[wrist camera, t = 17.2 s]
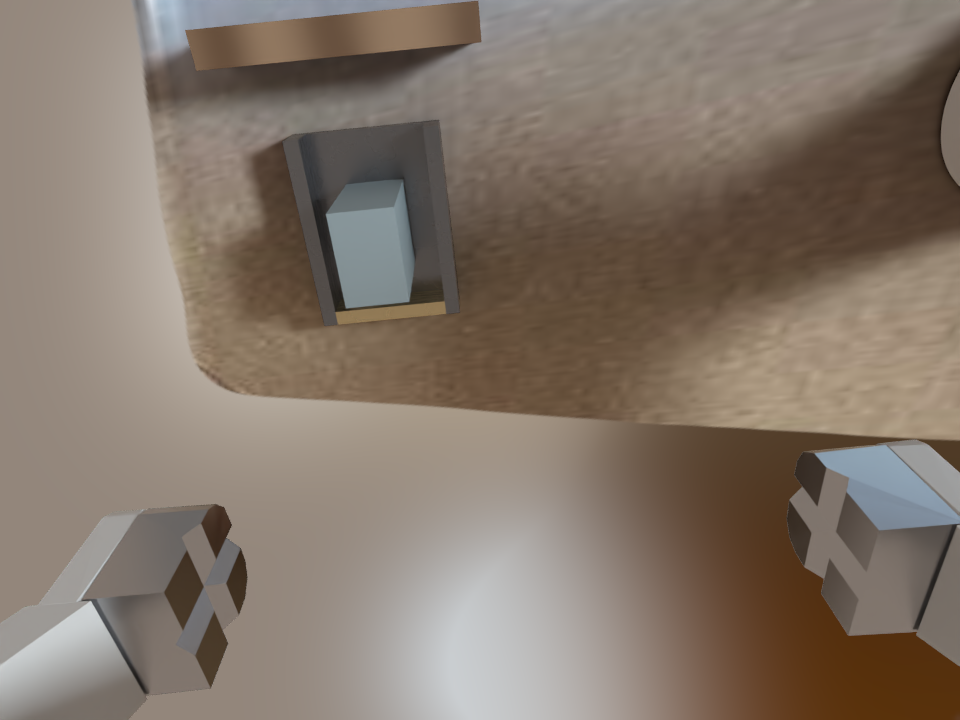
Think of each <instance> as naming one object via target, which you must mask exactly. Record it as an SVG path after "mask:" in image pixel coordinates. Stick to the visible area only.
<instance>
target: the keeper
mask: <svg viewBox="0 0 960 720" xmlns="http://www.w3.org/2000/svg"><path fill="white" fill-rule="evenodd" d="M282 143H283V147H284V152H285V156H286V160H287V165H288V169H289V173H290V178H291V182H292V186H293V191H294V195H295V199H296V204H297V208H298V212H299V217H300V221H301V225H302V230H303V234H304V239H305V243H306V247H307V252H308V256H309V260H310V265H311V269H312V273H313V278H314V282H315V286H316V291H317V295H318V299H319V304H320V308H321V312H322V317H323V321H324V325H325V326H329V325H339V324H350V323H360V322H370V321H380V320H390V319H400V318H410V317H420V316H430V315H440V314H450V313H460V306H459V291H458V282H457V273H456V265H455V256H454V247H453V238H452V229H451V220H450V211H449V203H448V194H447V185H446V176H445V167H444V158H443V149H442V141H441V132H440V123H439V120H433V121H423V122H413V123H403V124H393V125H383V126H373V127H363V128H353V129H343V130H333V131H323V132H313V133H303V134H294V135H291V136H290V137H288V138H287V139H285V140H284V141H282ZM402 178H403V180H404V187H405V194H406V200H407V207H408V214H409V220H410V227H411V234H412V241H413V247H414V254H415V267H414V273H413V280H412V287H411V293H410V300H409V302H403V303H394V304H384V305H374V306H365V307H355V308H346V306H345V302H344V297H343V292H342V288H341V283H340V278H339V273H338V269H337V264H336V259H335V255H334V250H333V245H332V241H331V236H330V231H329V227H328V222H327V217H326V213H327V212H328V210H329V209H330V207H331V206H332V204H333V203H334V201H335V200H336V199H337V197H338V196H339V194H340V193H341V191H342V190H343V188H344V187H345V185H346V184H354V183H364V182H374V181H383V180H393V179H402Z"/></svg>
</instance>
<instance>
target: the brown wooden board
mask: <svg viewBox="0 0 960 720" xmlns="http://www.w3.org/2000/svg"><path fill="white" fill-rule="evenodd" d="M185 31H186V35H187V39H188V42H189V46H190V49H191V53H192V57H193V60H194V64H195V67H196V71H200V70H210V69H220V68H230V67H240V66H250V65H259V64H269V63H279V62H289V61H299V60H309V59H319V58H329V57H339V56H349V55H359V54H369V53H379V52H389V51H398V50H408V49H418V48H428V47H438V46H448V45H458V44H468V43H478V42H481V31H480V18H479V6H478V1H471V2H461V3H451V4H441V5H432V6H422V7H412V8H402V9H392V10H382V11H372V12H362V13H352V14H342V15H333V16H323V17H313V18H303V19H293V20H283V21H273V22H263V23H253V24H243V25H234V26H224V27H214V28H204V29H194V30H185Z"/></svg>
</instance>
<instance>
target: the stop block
mask: <svg viewBox="0 0 960 720" xmlns="http://www.w3.org/2000/svg"><path fill="white" fill-rule="evenodd" d="M326 217H327V222H328V227H329V231H330V236H331V241H332V245H333V250H334V255H335V259H336V264H337V269H338V273H339V278H340V283H341V288H342V292H343V297H344V302H345V306H346V308H355V307H365V306H374V305H384V304H394V303H403V302H409V300H410V293H411V287H412V280H413V273H414V267H415V254H414V247H413V241H412V234H411V227H410V220H409V214H408V207H407V200H406V194H405V187H404V180H403V178H402V179H393V180H383V181H374V182H364V183H354V184H346V185H345V187H344V188H343V190H342V191H341V193H340V194H339V196H338V197H337V199H336V200H335V201H334V203H333V204H332V206H331V207H330V209H329V210H328V212H327V213H326Z"/></svg>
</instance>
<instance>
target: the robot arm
mask: <svg viewBox="0 0 960 720" xmlns="http://www.w3.org/2000/svg"><path fill="white" fill-rule="evenodd" d="M941 147H942V154H943V158H944V161H945V164H946V167H947V169H948V171H949V173H950V175H951V176H952V178H953V179H954V180H955V182H956V183H957V184H958V185H959V186H960V71H959V73H958V75H957V77H956V79H955V81H954V83H953V85H952V88H951V90H950V93H949V96H948V98H947V102H946V105H945V109H944V113H943V118H942V125H941ZM794 475H795V477H796V478H797V480H798V481H799V482H800V484H801V485H802V486H803V487H802V488H801V489H800V490H799V491H798V492H797V493H796V494H795V495H794V496H793V497H792V498H791V499H790V500H789V506H788V513H787V524H788V530H789V537H790V540H791V542H792V545H793V547H794V550H795V552H796V554H797V556H798V557H799V559H800V561H801V562H802V564H803V565H804V567H805V568H807V569H809V570H810V571H812V572H814V573H816V574H817V575H819V576H820V577H822V578H824V582H823V587H822V592H821V594H822V595H823V597H824V598H825V600H826V601H827V603H828V604H829V606H830V608H831V609H832V611H833V612H834V614H835V615H836V617H837V619H838V620H839V622H840V623H841V625H842V626H843V628H844V629H845V631H846V632H847V634H848V635H865V634H866V635H867V634H885V633H903V632H917V634H916V635H917V636H918V637H920V638H921V639H923V640H924V641H925V642H927V643H928V644H929V645H931V646H932V647H933V648H935V649H936V650H938V651H939V652H940V653H942V654H943V655H944V656H946V657H947V658H949V659H950V660H952V661H953V662H954V663H956V664H957V665H958V666H960V473H959V472H958V471H957V470H956V469H955V468H954V467H952V466H951V465H950V464H949V463H948V462H947V461H946V460H944V459H943V458H942V457H941V456H940V455H939V454H938V453H937V452H936V451H934V450H933V449H932V448H931V447H930V446H928V445H927V444H925V443H923V442H920V441H918V440H908V441H898V442H889V443H880V444H877V445H869V446H858V447H848V448H837V449H827V450H817V451H806V452H803V453H802V454H801V456H800V457H799V459H798V460H797V464H796V469H795V474H794ZM231 526H232V524H231V522H230V520H229V517H228V515H227V513H226V510H225V508H224V507H222V506H219V505H217V504H211V505H197V506H182V507H167V508H152V509H147V510H132V511H116V512H112V513H110V514H108V515H106V516H105V517H103V518H102V519H101V521H100V522H99V523H98V525H97V526H96V527H95V529H94V530H93V531H92V533H91V534H90V535H89V537H88V538H87V540H86V541H85V542H84V544H83V545H82V546H81V548H80V549H79V551H78V552H77V553H76V554H75V556H74V557H73V558H72V560H71V561H70V563H69V564H68V565H67V566H66V568H65V569H64V571H63V572H62V573H61V575H60V576H59V577H58V579H57V580H56V581H55V583H54V584H53V585H52V587H51V588H50V589H49V591H48V592H47V594H46V595H45V596H44V597H43V599H42V600H41V601H40V603H39V604H38V605H36V606H26V607H24V608H23V609H21V610H20V611H18V612H17V613H15V614H14V615H12V616H11V617H9V618H8V619H6V620H5V621H3V622H2V623H0V720H128V719H129V718H130V717H131V716H132V715H133V714H134V713H135V712H136V711H137V710H138V709H139V707H141V705H142V704H143V703H144V702H145V701H146V700H147V698H146V696H149V695H158V694H167V693H176V692H185V691H193V690H202V689H211V687H212V684H213V682H214V679H215V676H216V674H217V671H218V668H219V666H220V663H221V661H222V658H223V656H224V653H225V650H226V648H227V645H228V642H227V639H226V637H225V635H224V632H223V629H224V628H226V626H228V625H229V624H230V623H231V622H232V621H233V620H234V619H235V618H236V617H237V616H238V615H239V614H240V611H241V608H242V605H243V602H244V600H245V594H246V586H247V570H246V562H245V559H244V556H243V554H242V550H241V548H240V547H238V546H237V545H236V544H234V543H233V542H231V541H230V540H229V539H227V538H226V537H227V535H228V533H229V530H230V528H231Z"/></svg>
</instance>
